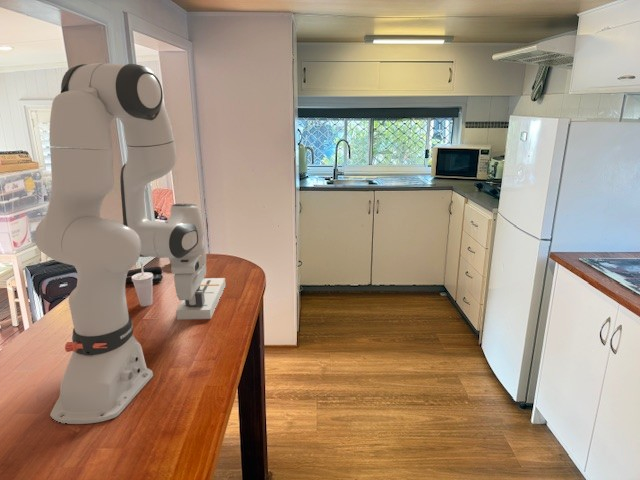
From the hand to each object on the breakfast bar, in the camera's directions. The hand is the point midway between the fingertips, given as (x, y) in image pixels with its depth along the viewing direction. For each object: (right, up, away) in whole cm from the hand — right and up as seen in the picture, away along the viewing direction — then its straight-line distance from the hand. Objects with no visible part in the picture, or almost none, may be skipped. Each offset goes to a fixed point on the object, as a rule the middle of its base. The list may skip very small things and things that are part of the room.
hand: (195, 300), depth 129 cm
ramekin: (-17, +8, +43) cm, 47 cm away
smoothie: (-18, -2, +9) cm, 20 cm away
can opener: (-28, +3, +26) cm, 38 cm away
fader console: (0, -2, +10) cm, 10 cm away
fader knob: (0, -1, 0) cm, 1 cm away
